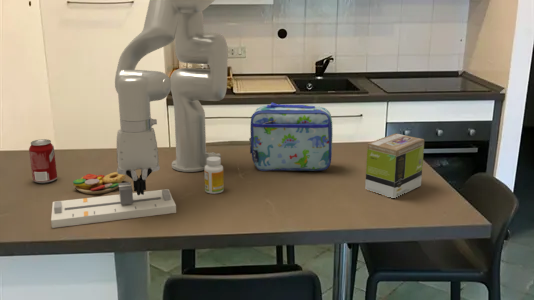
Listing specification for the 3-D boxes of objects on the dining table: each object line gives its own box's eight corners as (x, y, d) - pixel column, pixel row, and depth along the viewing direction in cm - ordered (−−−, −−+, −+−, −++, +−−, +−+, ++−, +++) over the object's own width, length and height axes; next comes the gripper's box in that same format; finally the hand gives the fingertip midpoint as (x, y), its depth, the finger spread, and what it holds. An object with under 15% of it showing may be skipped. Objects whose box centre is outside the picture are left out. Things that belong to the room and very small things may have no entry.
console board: (168, 195, 150) (168, 184, 149) (176, 212, 139) (175, 200, 138) (53, 208, 140) (52, 196, 139) (51, 228, 129) (50, 214, 128)
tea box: (392, 178, 165) (396, 131, 161) (421, 187, 158) (426, 138, 154) (363, 190, 155) (366, 141, 151) (393, 200, 148) (397, 149, 144)
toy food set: (130, 181, 161) (129, 171, 160) (111, 198, 149) (110, 187, 148) (89, 178, 163) (88, 168, 162) (66, 194, 151) (65, 183, 150)
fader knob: (131, 196, 143) (130, 181, 141) (133, 203, 138) (132, 188, 137) (119, 197, 142) (118, 182, 140) (121, 204, 137) (119, 189, 136)
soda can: (49, 185, 156) (44, 145, 153) (28, 183, 158) (23, 144, 154) (62, 177, 163) (57, 139, 159) (41, 175, 164) (37, 138, 160)
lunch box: (248, 171, 169) (248, 106, 163) (252, 161, 180) (252, 99, 173) (331, 175, 167) (334, 109, 161) (330, 164, 177) (333, 102, 171)
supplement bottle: (226, 188, 155) (226, 156, 152) (219, 195, 150) (218, 162, 148) (209, 186, 157) (209, 154, 154) (201, 192, 152) (200, 160, 149)
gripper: (163, 119, 141) (166, 185, 146) (103, 123, 136) (109, 191, 141) (168, 126, 134) (171, 195, 139) (105, 131, 129) (111, 201, 135)
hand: (140, 192), depth 140 cm, fingers closed
